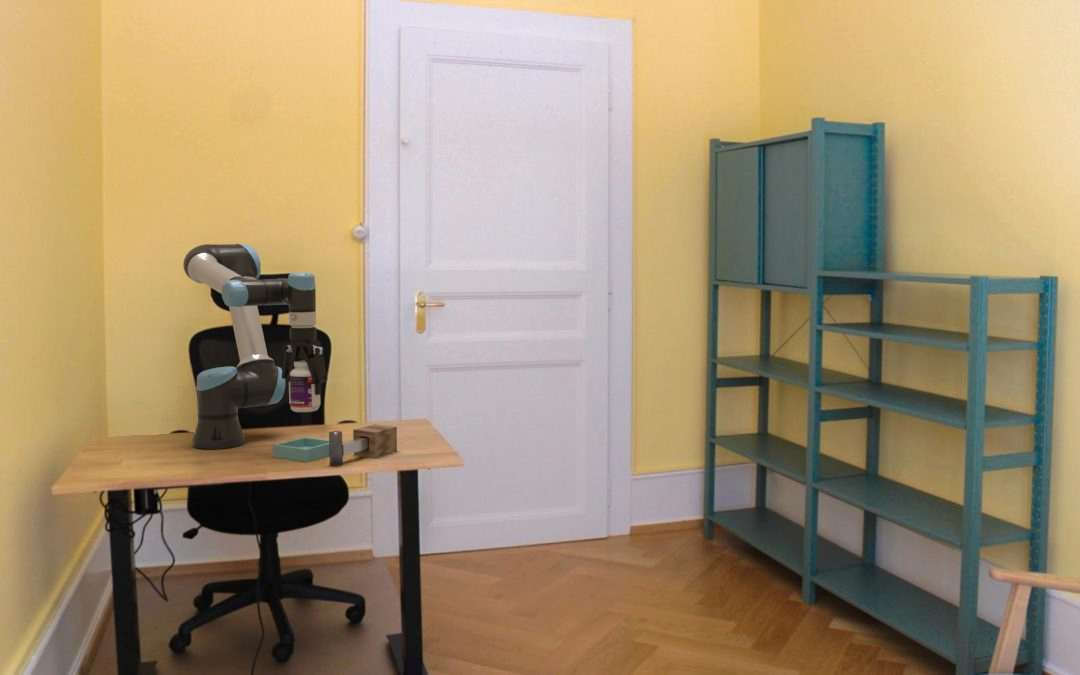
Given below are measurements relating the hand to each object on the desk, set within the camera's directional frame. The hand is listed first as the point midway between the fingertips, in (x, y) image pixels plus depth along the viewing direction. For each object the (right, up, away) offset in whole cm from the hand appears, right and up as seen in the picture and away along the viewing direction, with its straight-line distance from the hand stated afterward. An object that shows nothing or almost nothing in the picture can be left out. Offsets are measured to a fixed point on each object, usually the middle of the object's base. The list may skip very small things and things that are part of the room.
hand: (304, 404), depth 278 cm
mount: (+20, -15, +4) cm, 25 cm away
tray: (0, -15, +2) cm, 15 cm away
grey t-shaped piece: (+15, -15, -5) cm, 22 cm away
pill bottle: (0, -2, 0) cm, 2 cm away
